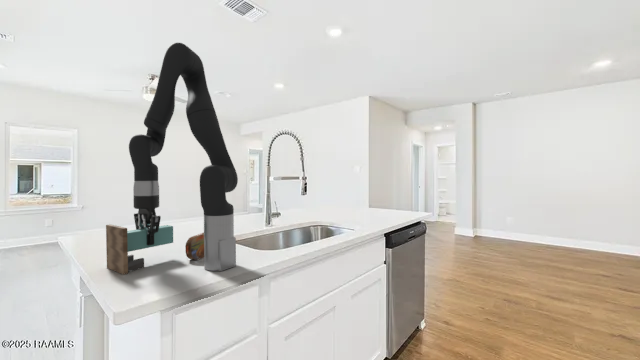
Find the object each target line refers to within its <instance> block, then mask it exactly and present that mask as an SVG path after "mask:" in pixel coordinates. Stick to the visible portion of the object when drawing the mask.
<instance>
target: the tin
mask: <svg viewBox="0 0 640 360" xmlns="http://www.w3.org/2000/svg"><path fill="white" fill-rule="evenodd" d="M185 256H186V258H188V259H189V260H196V261H198V260H200V259H202V258H204V232H201V233H198V234H196V235H193V236H190V237H188V239H187V241H186V242H185Z"/></svg>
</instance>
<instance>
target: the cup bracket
mask: <svg viewBox="0 0 640 360" xmlns="http://www.w3.org/2000/svg"><path fill="white" fill-rule="evenodd" d="M127 231H128V228H127V227H124V226H119V225H116V224H115V225H114V224H110V223H109V224H106V225H105V233H106V234H105V238H106V243H105V244H106V248H105V249H106V268H107V269H109V270H111V271H114V272H116V273H119V274H121V275H123V276H124V275H128V274H129V272H132V271H137V270H140V269H145V258H144V257H140V258H137V259H134V258H135V257H134V256H135V255H134V254H129V252H128V242H127ZM128 254H129V255H128Z"/></svg>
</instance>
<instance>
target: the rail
mask: <svg viewBox="0 0 640 360" xmlns="http://www.w3.org/2000/svg"><path fill="white" fill-rule="evenodd" d="M155 228H156V227H155ZM127 242H128V253H129V252H134V251H138V250H139V251H140V250H142V249H143V250H144V249H145V250H146V249H149V248H154V247H159V246H163V245H169V244H173V243H174V226H173V225H168V224H166V225H159V230H158V232H156V233H155V234H154V245H150V246H148V245H147V233H146V228H144V229H137V230H136V229H131V230H127Z"/></svg>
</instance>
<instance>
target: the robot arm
mask: <svg viewBox="0 0 640 360" xmlns="http://www.w3.org/2000/svg"><path fill="white" fill-rule="evenodd" d="M160 68H161V69H160V72H159V75H158V80H157V81H158V82H157V84H156V90H155V93H154V95H153V99H152V102H151V104H150V107H149V109H148V110H147V113H146V115H145V117H144V120H143V125H144V126H145V127H146V128H147V130H146V134H135V135H133V136H132V137H131V138H130V140H129V144H128V152H129V155H130V159H131V163H132V166H133V170H134V171H133V178H134V179H133V180H134V182H133V208H134V209H136V210H138V211H137V213H133V219H134V224H135V230H137V229H144V228H146V233H147V245H148V246H150V245H154V234H155V233H156V232H158V230H159V226H160V224H161V215H157V212H156V209H157V208H159V207H160V184H159V168H158V166H157V165H156V163H154V162H153V160H152V159H153V158H152V157H156V156H158V155H159V154H160V153H161V152H162V150H163V148H164V145H165V140H166V134H167V128H168V126H169V125H170V122H171V120H172V118H173V115H174V113H175V112H174V111H175V107H176V100H175V99H176V96H175V95H176V87H177V82H178V80H179V78H180V76H181V78H182V80H183V82H184V84H185V87H186V88H185V89H186V90H187V101H186V107H185V113H186V119H187V122H188V125H189V128H190V132H191V133H192V135H193V137H194V138H195V140H196V141H197V142H198V143H199V146H201V148H202V149H203V150H204V151H205V153H206V154H207V156H208V158H209V161H210V165H206V166H205V167H204V168H203V169H202V170H201V172H200V176H199V196H200V205H201V208H202V210H203V233H204V257H203V258H204V259H203V260H204V261H203V262H204V263H203V264H204V270H207V271H212V272H213V271H214V272H215V271H218V272H222V271H225V270H228V269H231V268H234V267H236V266H237V246H236V245H237V238H236V237H235V231H234V230H235V229H234V228H235V227H234V226H235V225H234V222H235V221H234V220H235V219H234V216H235V215H234V210H235V209H234V205H233V204H232V203H229V202H228V200H227V195H226V194H227V193H231V192H233V191H234V190H236V188H237V186H238V181H239V180H238V179H239V178H238V173H237V170H236V168H235V166H234V164H233V161H232V159H231V156H230V154H229V152H228V149H227V145H226V143H225V139H224V136H223V133H222V130H221V127H220V122H219V119H218V116H217V112H216V110H215V106H214V104H213V100H212V97H211V94H210V92H209V88H208V84H207V80H206V73H205V67H204V64H203V61H202V58H201V57H200V56H199V55H198V54H197V53H196V52H195V51H194V50H192V49H191V48H190V47H189V46H188V45H186V44H184V43H182V42H174V43H172V44H170V45H169V46H168V48H167V49H166V51H165V53H164V57H163V59H162V65H161V67H160ZM155 227H156V228H155Z"/></svg>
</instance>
